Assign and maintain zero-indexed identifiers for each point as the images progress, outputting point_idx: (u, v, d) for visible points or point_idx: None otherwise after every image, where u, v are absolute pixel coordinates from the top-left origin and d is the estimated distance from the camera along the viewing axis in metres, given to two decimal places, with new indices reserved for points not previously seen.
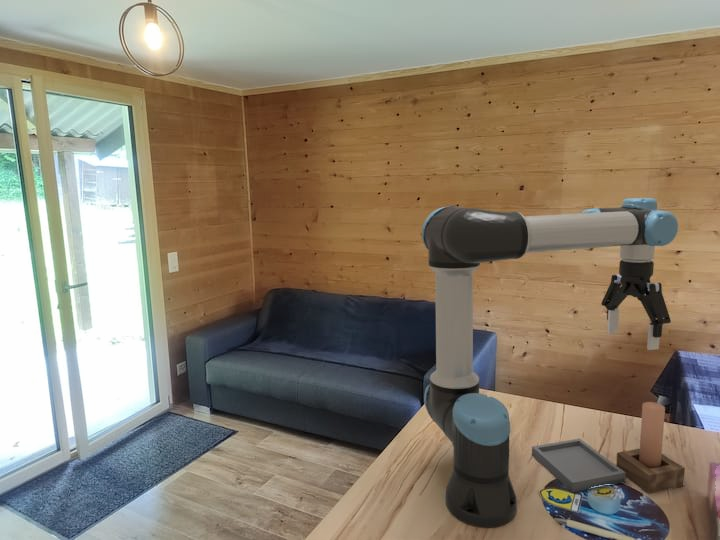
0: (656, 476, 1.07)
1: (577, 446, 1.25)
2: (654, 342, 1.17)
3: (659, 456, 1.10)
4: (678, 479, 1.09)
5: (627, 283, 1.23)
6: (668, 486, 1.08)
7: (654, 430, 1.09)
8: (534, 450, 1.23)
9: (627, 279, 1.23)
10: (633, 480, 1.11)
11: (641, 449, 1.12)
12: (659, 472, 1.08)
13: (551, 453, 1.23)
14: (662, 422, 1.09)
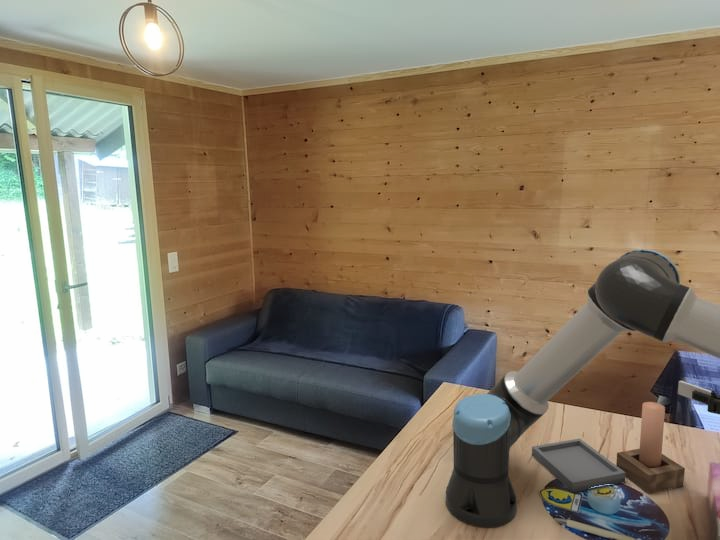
0: (656, 476, 1.07)
1: (577, 446, 1.25)
2: (687, 390, 0.95)
3: (659, 456, 1.10)
4: (678, 479, 1.09)
5: None
6: (668, 486, 1.08)
7: (654, 430, 1.09)
8: (534, 450, 1.23)
9: None
10: (633, 480, 1.11)
11: (641, 449, 1.12)
12: (659, 472, 1.08)
13: (551, 453, 1.23)
14: (662, 422, 1.09)
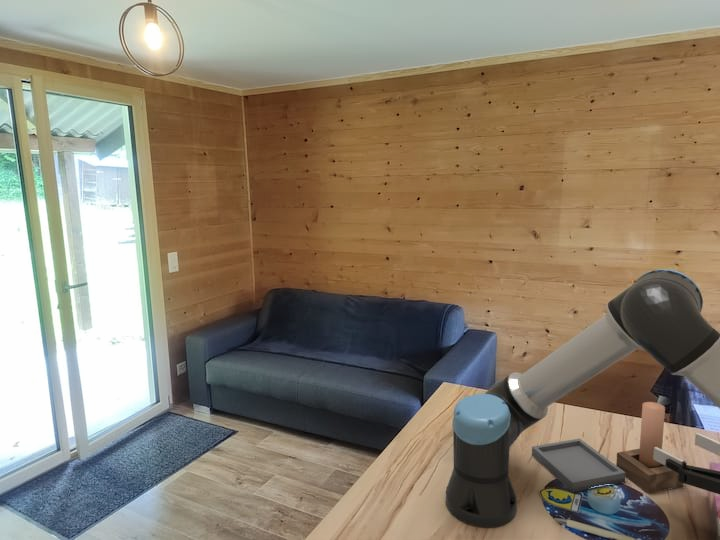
0: (656, 476, 1.07)
1: (577, 446, 1.25)
2: (661, 457, 1.02)
3: None
4: None
5: None
6: (668, 486, 1.08)
7: (654, 430, 1.09)
8: (534, 450, 1.23)
9: None
10: (633, 480, 1.11)
11: (641, 449, 1.12)
12: (659, 472, 1.08)
13: (551, 453, 1.23)
14: (662, 422, 1.09)
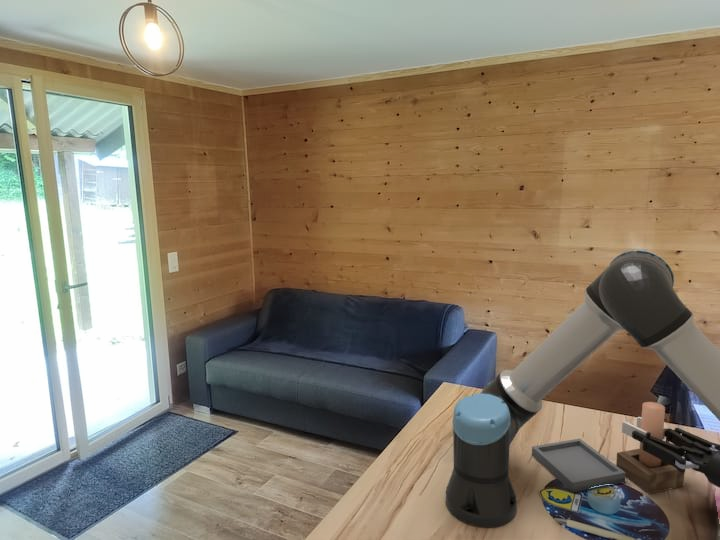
0: (656, 476, 1.07)
1: (577, 446, 1.25)
2: (628, 430, 1.13)
3: None
4: (678, 479, 1.09)
5: (709, 452, 1.00)
6: (668, 486, 1.08)
7: (654, 430, 1.09)
8: (534, 450, 1.23)
9: None
10: (633, 480, 1.11)
11: (641, 449, 1.12)
12: (659, 472, 1.08)
13: (551, 453, 1.23)
14: (662, 422, 1.09)
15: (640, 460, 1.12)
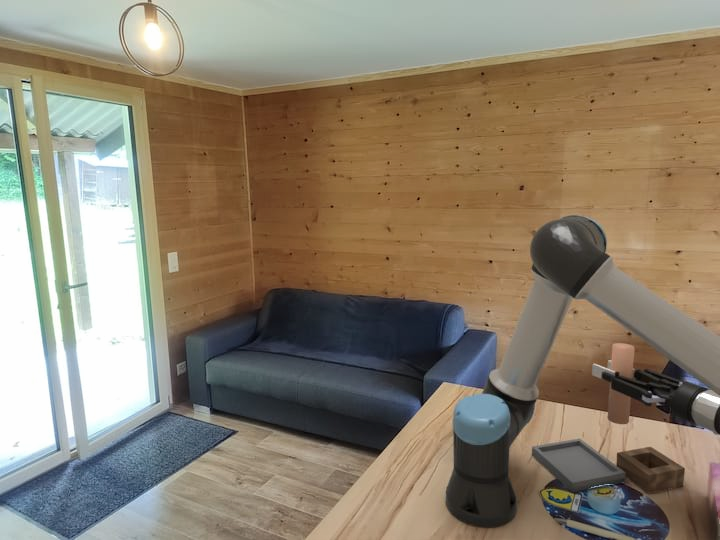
0: (656, 476, 1.07)
1: (577, 446, 1.25)
2: (598, 371, 1.13)
3: (628, 396, 1.09)
4: (678, 479, 1.09)
5: (676, 387, 1.00)
6: (668, 486, 1.08)
7: (623, 370, 1.08)
8: (534, 450, 1.23)
9: None
10: (633, 480, 1.11)
11: (611, 390, 1.11)
12: (659, 472, 1.08)
13: (551, 453, 1.23)
14: (631, 361, 1.08)
15: (610, 402, 1.12)
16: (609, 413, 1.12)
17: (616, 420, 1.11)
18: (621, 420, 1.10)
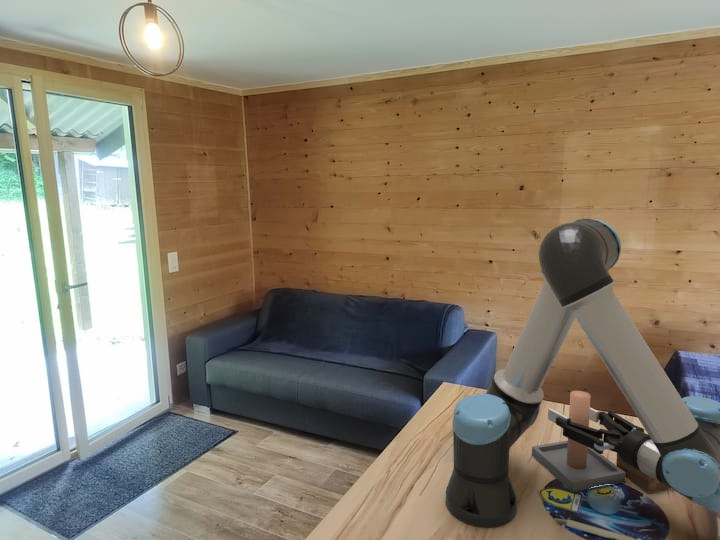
0: None
1: None
2: (553, 416, 1.17)
3: None
4: None
5: (625, 433, 1.05)
6: None
7: (580, 417, 1.13)
8: (534, 450, 1.23)
9: None
10: (633, 480, 1.11)
11: None
12: None
13: (551, 453, 1.23)
14: (587, 410, 1.13)
15: (568, 446, 1.17)
16: (568, 457, 1.17)
17: (574, 465, 1.16)
18: (578, 465, 1.15)
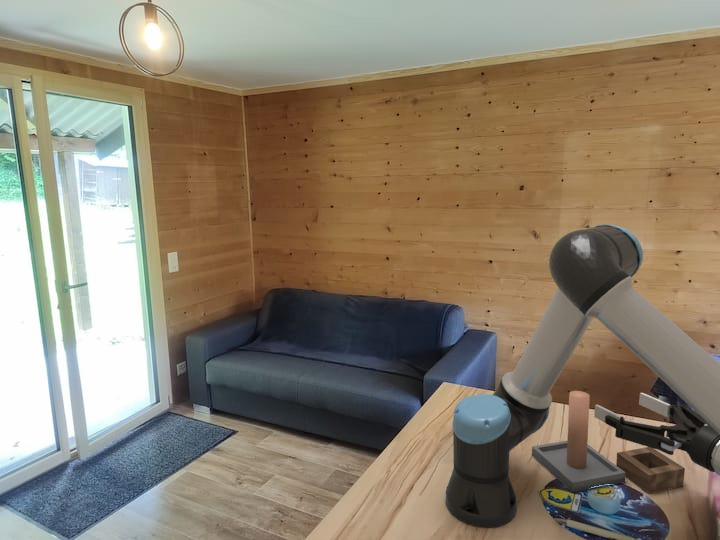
0: (656, 476, 1.07)
1: None
2: (601, 414, 1.01)
3: (584, 443, 1.15)
4: (678, 479, 1.09)
5: (692, 429, 0.91)
6: (668, 486, 1.08)
7: (579, 417, 1.13)
8: (534, 450, 1.23)
9: None
10: (633, 480, 1.11)
11: (568, 436, 1.16)
12: (659, 472, 1.08)
13: (551, 453, 1.23)
14: (586, 410, 1.13)
15: (568, 447, 1.17)
16: (567, 458, 1.17)
17: (574, 465, 1.16)
18: (578, 465, 1.15)
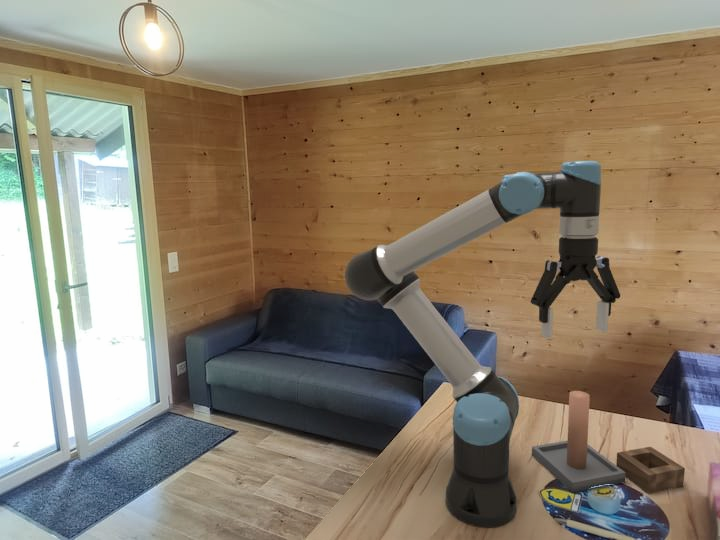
0: (656, 476, 1.07)
1: None
2: (545, 328, 1.03)
3: (584, 443, 1.15)
4: (678, 479, 1.09)
5: None
6: (668, 486, 1.08)
7: (579, 417, 1.13)
8: (534, 450, 1.23)
9: None
10: (633, 480, 1.11)
11: (568, 436, 1.16)
12: (659, 472, 1.08)
13: (551, 453, 1.23)
14: (587, 410, 1.13)
15: (568, 447, 1.17)
16: (567, 458, 1.17)
17: (574, 465, 1.16)
18: (578, 465, 1.15)
